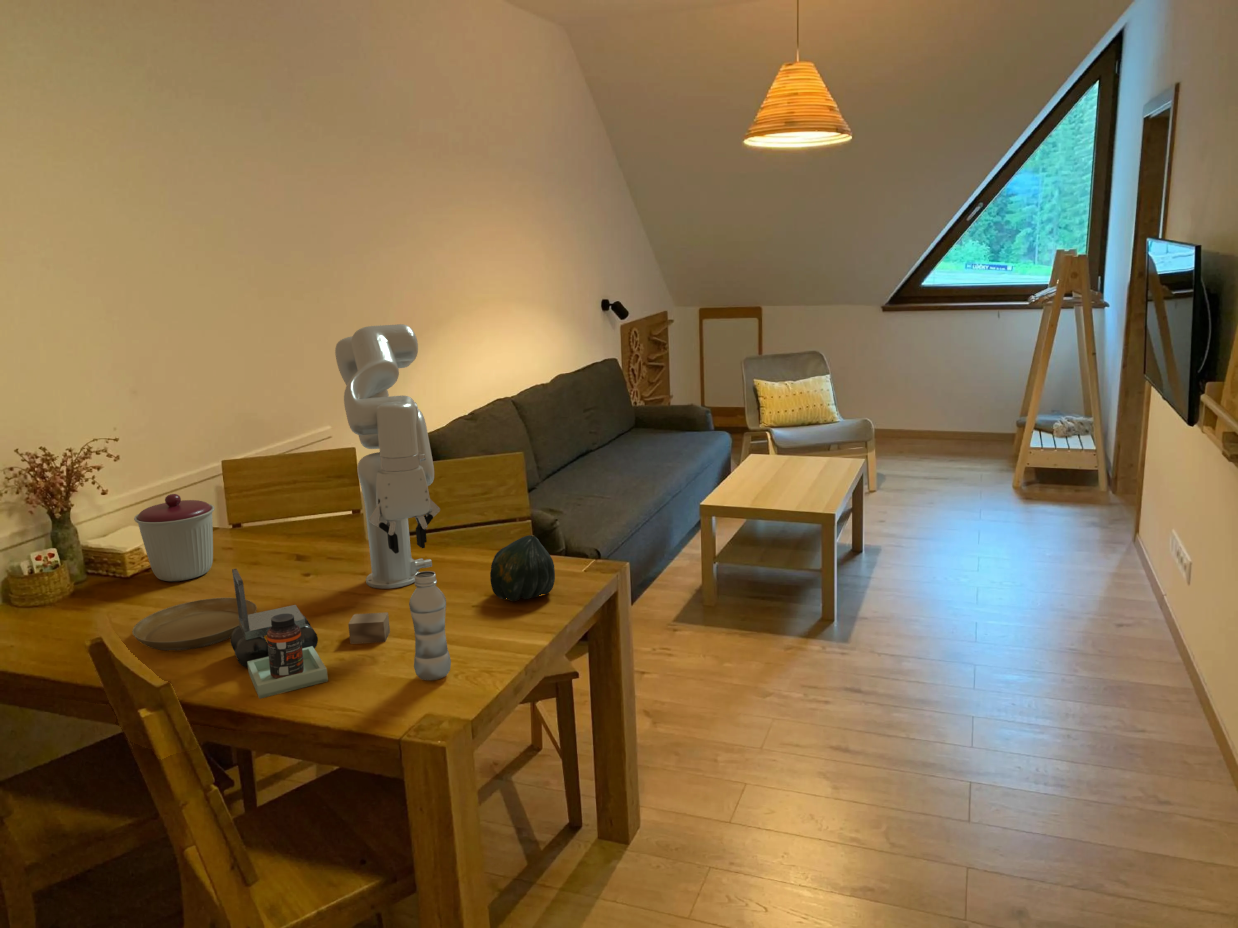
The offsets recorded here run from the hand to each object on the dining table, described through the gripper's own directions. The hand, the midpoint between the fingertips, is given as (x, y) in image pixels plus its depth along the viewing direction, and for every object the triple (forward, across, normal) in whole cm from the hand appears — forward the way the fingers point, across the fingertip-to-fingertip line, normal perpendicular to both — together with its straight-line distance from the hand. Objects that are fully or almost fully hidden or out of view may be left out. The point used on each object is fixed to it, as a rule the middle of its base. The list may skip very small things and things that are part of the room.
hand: (408, 548), depth 185 cm
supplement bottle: (+17, +27, +9) cm, 33 cm away
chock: (+18, +10, 0) cm, 20 cm away
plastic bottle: (+18, +4, +25) cm, 31 cm away
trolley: (+17, +28, -3) cm, 33 cm away
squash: (+18, -26, -3) cm, 32 cm away
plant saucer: (+18, +40, -25) cm, 50 cm away
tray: (+17, +28, +9) cm, 34 cm away
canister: (+18, +38, -67) cm, 79 cm away
